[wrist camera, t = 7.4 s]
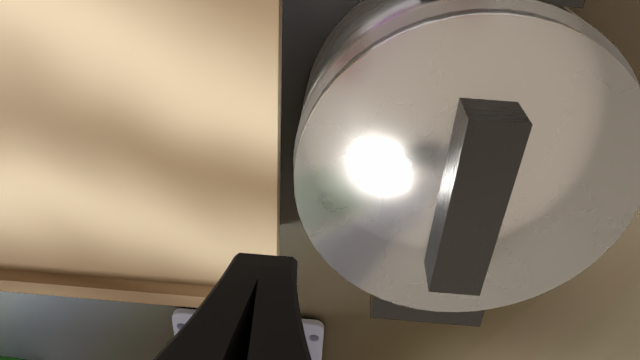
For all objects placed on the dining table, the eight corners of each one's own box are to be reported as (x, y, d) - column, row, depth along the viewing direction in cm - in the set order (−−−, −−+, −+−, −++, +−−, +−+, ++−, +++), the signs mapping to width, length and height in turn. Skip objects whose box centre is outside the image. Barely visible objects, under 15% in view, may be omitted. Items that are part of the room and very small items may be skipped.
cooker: (532, 264, 24) (564, 341, 20) (299, 245, 24) (288, 317, 21) (661, -83, 16) (754, -64, 12) (313, -106, 16) (299, -93, 13)
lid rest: (288, 233, 24) (273, 316, 20) (16, 211, 24) (-58, 287, 20) (297, -83, 17) (276, -60, 12) (-91, -109, 17) (-241, -95, 13)
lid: (577, 311, 19) (598, 356, 17) (291, 287, 19) (285, 329, 17) (710, 23, 13) (762, 47, 11) (301, -6, 13) (293, 14, 12)
